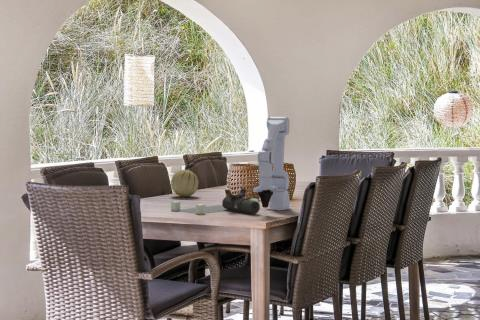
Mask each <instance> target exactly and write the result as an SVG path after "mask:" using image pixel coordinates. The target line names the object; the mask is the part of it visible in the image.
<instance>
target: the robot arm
mask: <svg viewBox="0 0 480 320" xmlns="http://www.w3.org/2000/svg"><path fill="white" fill-rule="evenodd" d="M266 127H267V130H268V135H267V138H265V139H264V141H263V144H262V147H261V150H259V151H258V152H257V161H258V167H259V171H258V172H259V173H258V174H259V177H258V180H259V181H258V182H259V183H258V186H256V187H253V189H252V191H253V193H257V195H258V196H259V199H260V201H261V206H262V208H265V210H270V211H285V210H291V209H292V207H290V203H291V202H290V199H291V198H290V194H289V193H290V192H288V190H289V187H290V176H289V174H288V172H286V171H285V170H284V161H285V143H286V142H285V139H286V136H287V135H289V134H290V133H289V132H290V118H289V117H288V116H268V117H267V119H266Z"/></svg>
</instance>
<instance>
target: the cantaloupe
mask: <svg viewBox="0 0 480 320" xmlns="http://www.w3.org/2000/svg"><path fill="white" fill-rule="evenodd" d="M170 186H171V189H172V192H174V193H175V195H177V196H178V197H182V198H187V197H191V196H193V195H195V193H196V192H197V191H198V188H199V178H198V176H197V174H196V173H194V172H193V171H192V170H190V168H187V169H180V170H178V171H176V172H175V173H174V174H173V175H172V177H171V180H170Z"/></svg>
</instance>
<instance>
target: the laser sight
mask: <svg viewBox="0 0 480 320" xmlns="http://www.w3.org/2000/svg"><path fill="white" fill-rule="evenodd" d="M224 192H225V196H226V197H224V198H222V199H223V200H222V202H221V205H223V207H224V208H225V209H227V210H230V211H232V212H236V213H241V214H244V213H245V214H246V213H249V214H253V215H255V214H257V213H258V212H260V209H261V206H260V205H261V204H260V203H259V201H258V202H256V201H250V199H248V198H245V197H246V193H247V189H246V188H240V192H239V193H237V194H232V192H231V189H224Z"/></svg>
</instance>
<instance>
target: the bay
mask: <svg viewBox="0 0 480 320" xmlns="http://www.w3.org/2000/svg"><path fill="white" fill-rule="evenodd" d="M225 197H226V195H225ZM225 197H224V198H225ZM249 201H256V202H258V203H259V198H250V199H249ZM170 210H171V211H173V212H179V213H187V214H194V215H205V214H211V213H213V214H214V213H222V212H229V211H230V210H227V209H225V208H224V207H223V205H222V204H217V205H210V206H209V205H207V206H206V204H202V203H199V204H195V207H191V208H190V207H189V208H182V209H181V201H171V202H170Z"/></svg>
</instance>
